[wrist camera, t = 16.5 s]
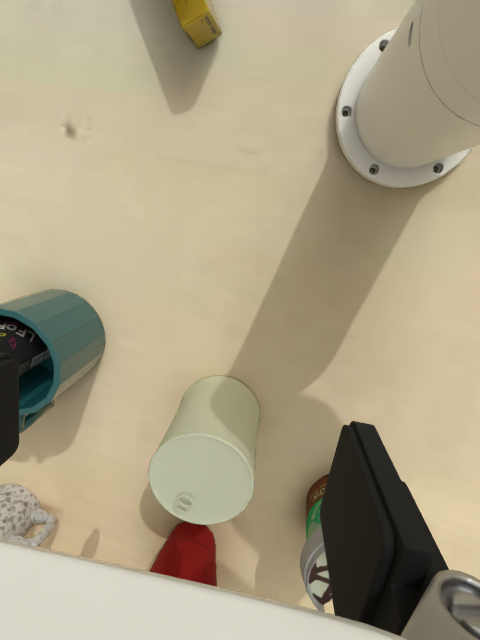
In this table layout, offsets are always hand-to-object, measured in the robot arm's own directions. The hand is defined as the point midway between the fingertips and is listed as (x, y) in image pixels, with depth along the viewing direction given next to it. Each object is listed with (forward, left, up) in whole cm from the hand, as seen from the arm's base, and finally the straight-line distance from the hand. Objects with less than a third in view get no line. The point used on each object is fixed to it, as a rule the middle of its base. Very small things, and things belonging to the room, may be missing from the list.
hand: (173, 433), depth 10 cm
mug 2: (+41, -10, -28) cm, 51 cm away
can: (+15, +5, -28) cm, 33 cm away
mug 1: (+17, -14, -28) cm, 36 cm away
